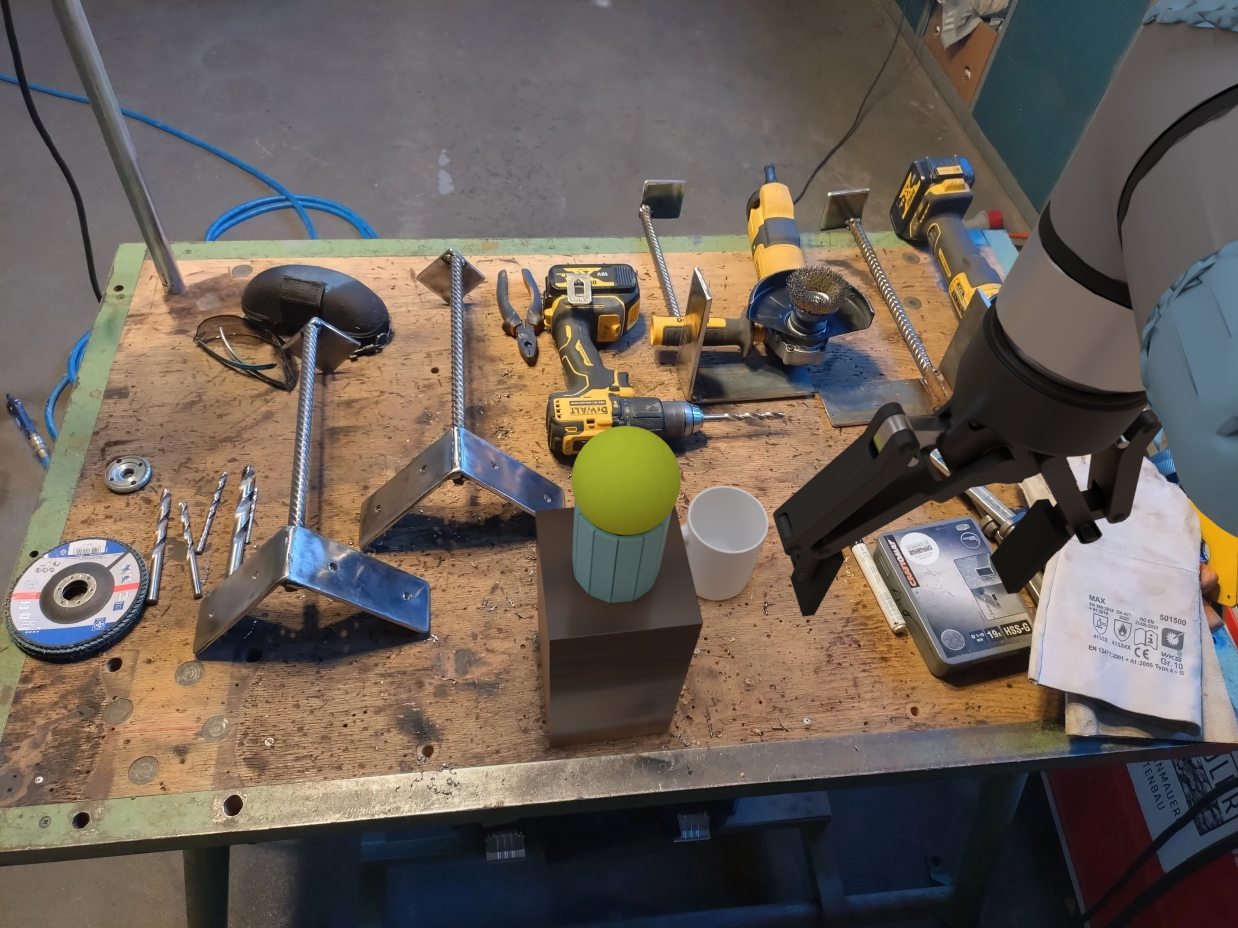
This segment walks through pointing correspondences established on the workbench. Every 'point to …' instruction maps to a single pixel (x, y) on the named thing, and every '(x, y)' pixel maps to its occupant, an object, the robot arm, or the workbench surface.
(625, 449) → the ball
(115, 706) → the workbench surface
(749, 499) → the mug
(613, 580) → the tumbler
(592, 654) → the dark brown block
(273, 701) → the workbench surface
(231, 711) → the workbench surface
